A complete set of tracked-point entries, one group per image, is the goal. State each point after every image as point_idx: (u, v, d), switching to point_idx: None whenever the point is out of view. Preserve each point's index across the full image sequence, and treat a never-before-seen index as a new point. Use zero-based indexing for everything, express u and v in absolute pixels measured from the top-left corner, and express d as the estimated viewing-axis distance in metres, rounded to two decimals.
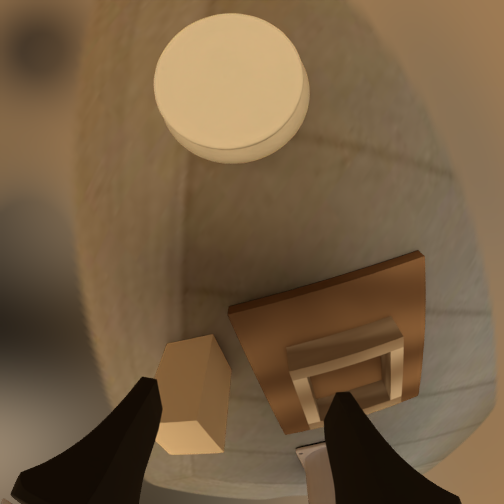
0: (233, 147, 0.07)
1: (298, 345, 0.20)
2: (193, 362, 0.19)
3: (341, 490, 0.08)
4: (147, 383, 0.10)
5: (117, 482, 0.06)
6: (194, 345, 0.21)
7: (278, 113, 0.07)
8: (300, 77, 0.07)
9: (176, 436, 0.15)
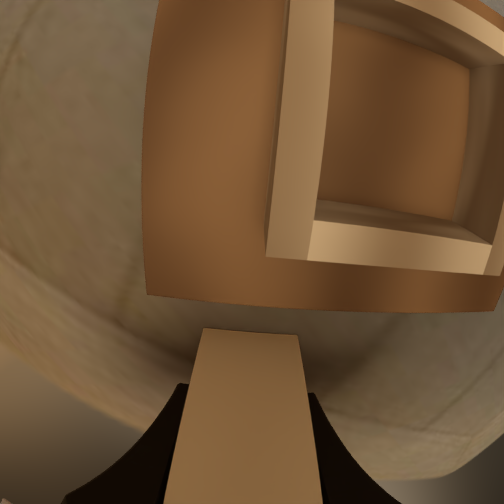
0: None
1: (266, 198, 0.09)
2: None
3: None
4: (186, 389, 0.10)
5: None
6: None
7: None
8: None
9: None
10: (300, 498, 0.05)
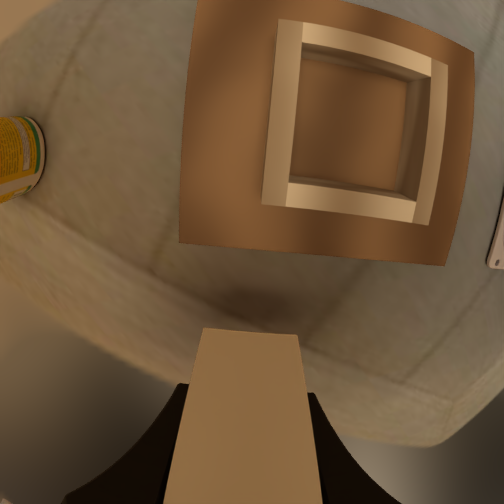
0: None
1: (262, 174, 0.14)
2: None
3: None
4: (186, 389, 0.10)
5: None
6: None
7: None
8: None
9: None
10: (300, 498, 0.05)
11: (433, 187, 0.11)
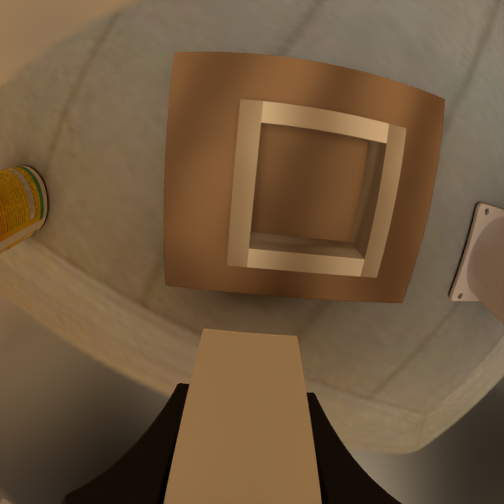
0: None
1: None
2: None
3: None
4: (185, 389, 0.10)
5: None
6: None
7: None
8: None
9: None
10: (299, 498, 0.05)
11: (382, 245, 0.14)
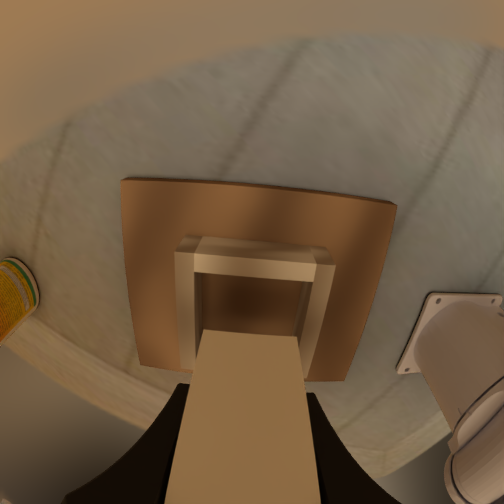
0: None
1: None
2: None
3: None
4: (186, 389, 0.10)
5: None
6: None
7: None
8: None
9: None
10: (298, 498, 0.06)
11: (309, 357, 0.17)
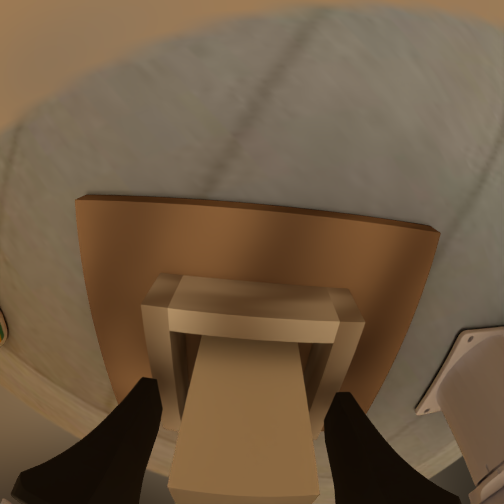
0: None
1: None
2: None
3: (341, 490, 0.08)
4: (147, 383, 0.10)
5: (117, 482, 0.06)
6: None
7: None
8: None
9: None
10: (297, 476, 0.06)
11: (321, 421, 0.12)
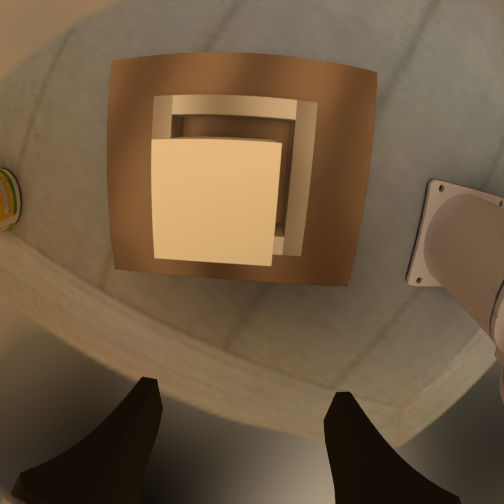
0: None
1: None
2: None
3: (341, 490, 0.08)
4: (147, 383, 0.10)
5: (117, 482, 0.06)
6: None
7: None
8: None
9: (197, 205, 0.09)
10: None
11: (301, 223, 0.15)
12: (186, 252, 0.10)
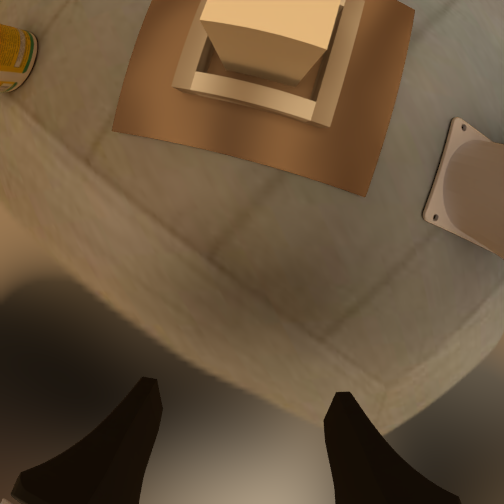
0: None
1: None
2: None
3: (341, 490, 0.08)
4: (147, 383, 0.10)
5: (117, 482, 0.06)
6: None
7: None
8: None
9: None
10: None
11: (336, 92, 0.12)
12: (238, 17, 0.07)
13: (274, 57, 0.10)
